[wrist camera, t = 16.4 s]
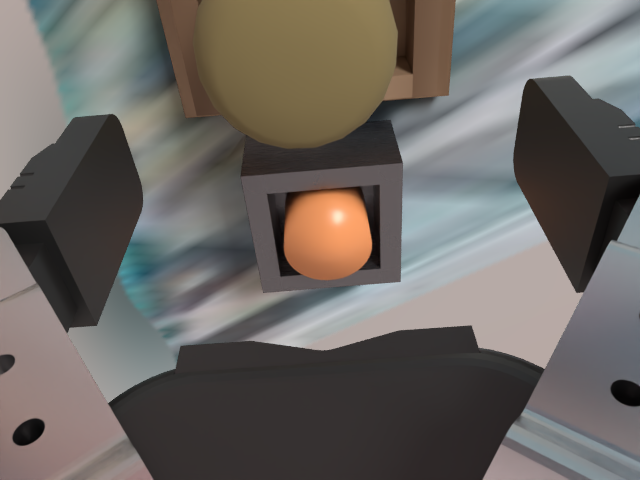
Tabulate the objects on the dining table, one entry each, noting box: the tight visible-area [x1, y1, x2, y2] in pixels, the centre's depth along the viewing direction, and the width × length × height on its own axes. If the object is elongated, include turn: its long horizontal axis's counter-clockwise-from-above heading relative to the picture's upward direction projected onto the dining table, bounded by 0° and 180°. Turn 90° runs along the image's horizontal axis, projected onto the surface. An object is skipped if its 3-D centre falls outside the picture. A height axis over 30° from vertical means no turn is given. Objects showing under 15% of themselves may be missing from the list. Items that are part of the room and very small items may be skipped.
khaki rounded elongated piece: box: [193, 0, 398, 149], centre depth 17 cm, size 6×6×11 cm
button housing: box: [241, 120, 403, 293], centre depth 28 cm, size 7×7×4 cm
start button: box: [284, 186, 372, 280], centre depth 27 cm, size 4×4×3 cm
